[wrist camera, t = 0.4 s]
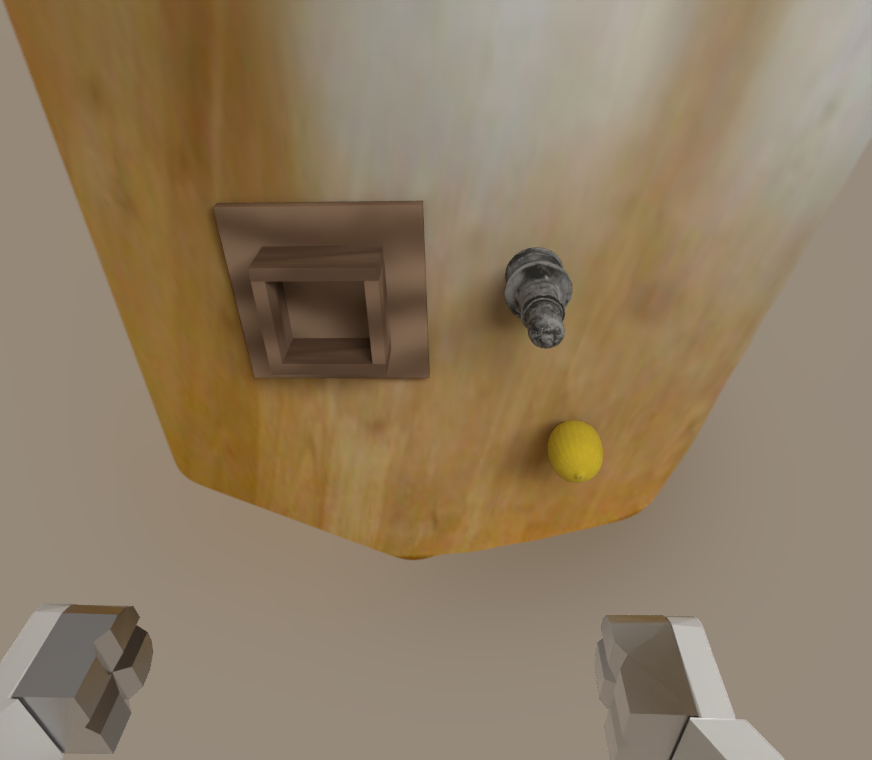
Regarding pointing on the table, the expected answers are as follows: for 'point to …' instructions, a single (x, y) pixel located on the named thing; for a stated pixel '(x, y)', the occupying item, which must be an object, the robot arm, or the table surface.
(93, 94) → the table surface
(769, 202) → the table surface
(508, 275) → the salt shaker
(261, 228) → the caddy
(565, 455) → the lemon
